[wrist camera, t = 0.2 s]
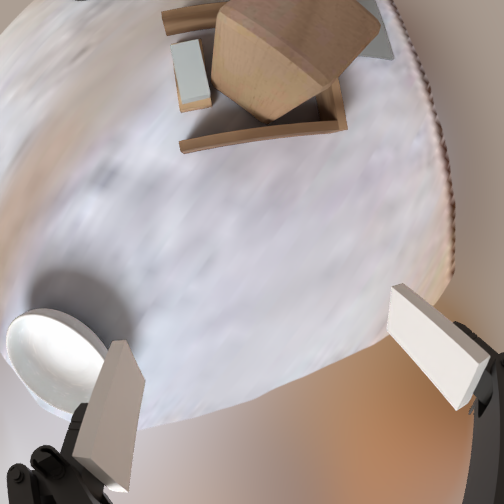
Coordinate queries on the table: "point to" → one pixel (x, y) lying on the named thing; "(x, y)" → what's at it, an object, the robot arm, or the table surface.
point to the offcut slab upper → (190, 71)
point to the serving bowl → (55, 356)
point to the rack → (329, 123)
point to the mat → (380, 43)
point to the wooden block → (285, 50)
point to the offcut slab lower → (196, 104)
